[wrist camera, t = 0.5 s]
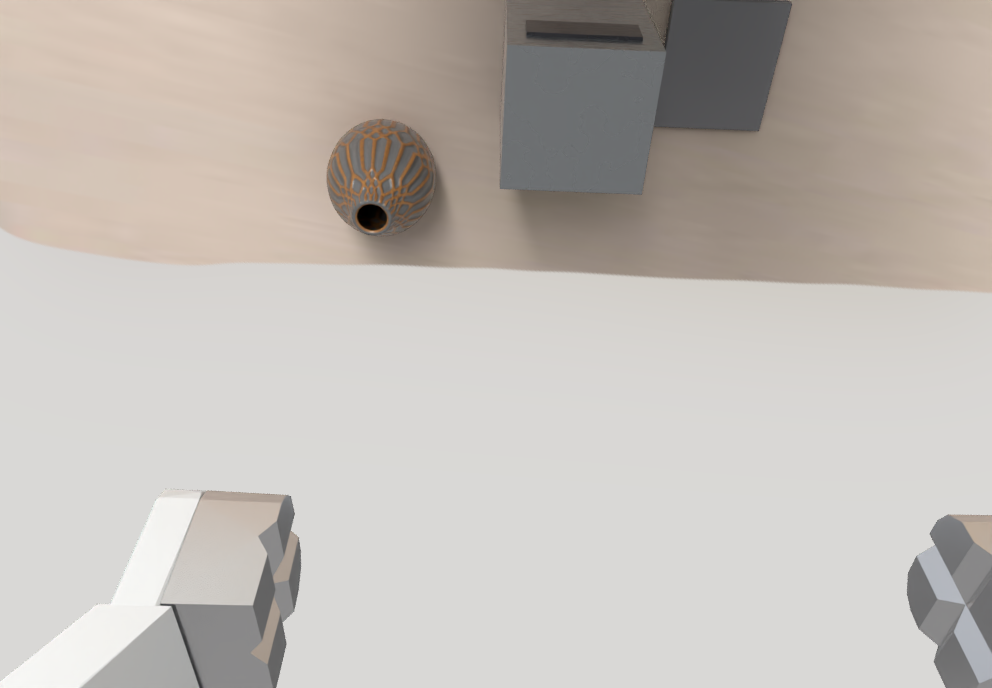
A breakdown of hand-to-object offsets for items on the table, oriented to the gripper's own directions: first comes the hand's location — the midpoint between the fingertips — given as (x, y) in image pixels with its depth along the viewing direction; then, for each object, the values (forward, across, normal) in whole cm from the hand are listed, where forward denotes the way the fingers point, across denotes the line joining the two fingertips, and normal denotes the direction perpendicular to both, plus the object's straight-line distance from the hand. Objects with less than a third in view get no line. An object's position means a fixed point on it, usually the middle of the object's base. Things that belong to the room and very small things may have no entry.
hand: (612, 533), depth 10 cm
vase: (+45, +8, +16) cm, 48 cm away
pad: (+44, -13, +9) cm, 47 cm away
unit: (+44, -3, +9) cm, 45 cm away
